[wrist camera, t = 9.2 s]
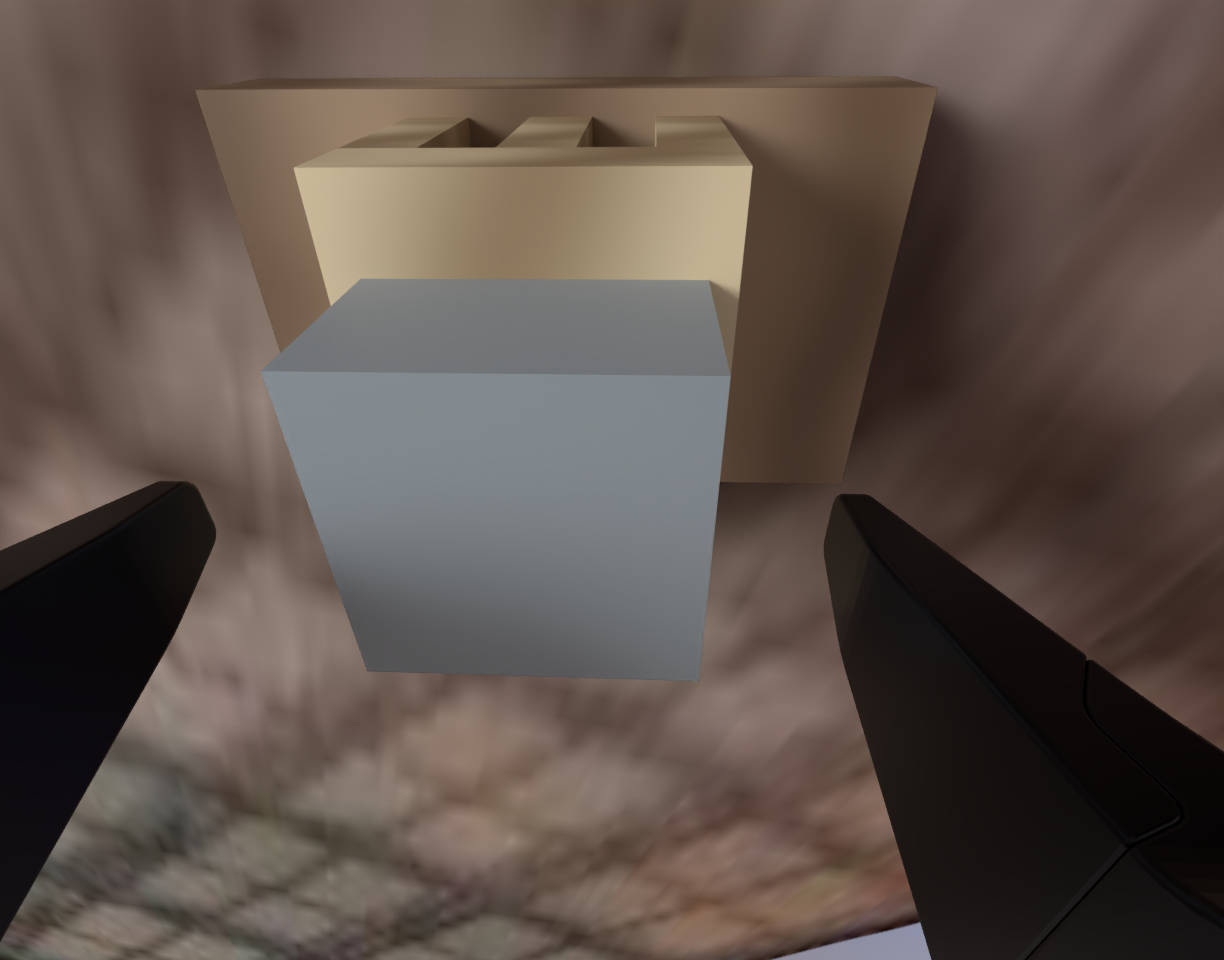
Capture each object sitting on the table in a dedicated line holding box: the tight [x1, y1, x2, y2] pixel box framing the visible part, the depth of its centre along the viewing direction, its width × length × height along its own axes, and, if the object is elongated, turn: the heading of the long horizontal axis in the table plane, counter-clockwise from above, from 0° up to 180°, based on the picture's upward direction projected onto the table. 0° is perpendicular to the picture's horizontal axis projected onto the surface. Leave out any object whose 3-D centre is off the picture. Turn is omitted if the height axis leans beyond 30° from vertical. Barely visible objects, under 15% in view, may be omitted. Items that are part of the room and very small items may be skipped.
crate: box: [261, 279, 731, 681], centre depth 10 cm, size 5×5×3 cm
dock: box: [195, 77, 938, 484], centre depth 16 cm, size 14×9×2 cm, turn 90°
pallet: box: [294, 116, 753, 599], centre depth 13 cm, size 6×8×5 cm
